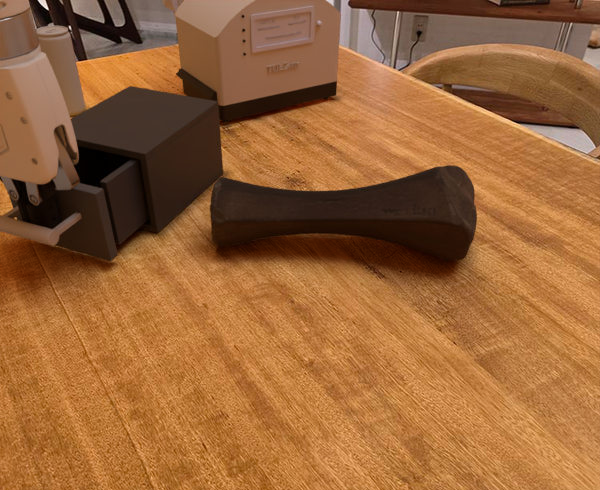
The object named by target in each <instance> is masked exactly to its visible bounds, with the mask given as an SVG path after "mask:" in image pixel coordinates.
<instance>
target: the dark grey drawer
mask: <svg viewBox="0 0 600 490" xmlns="http://www.w3.org/2000/svg"><path fill="white" fill-rule="evenodd" d="M77 147H78V154H79V160H78V163H77V164H75V165H74V168H75V170H76V172H77V174H78V177H79V179H80V183H79V184H78V185H76V186H75V187H74V188H72V189H71V190H59V191H58V192H57V193H55V198H56V201H57V205H58V208H59V212H60V215H61V219H62V223H60V224H59V225H58V226H56V227H55V228H53V229H50V228H46V227H42V226H39V225H35V224H31V223H28V222H24V221H23V220H22V217H21V214H20V211H19V208H18V205H17V202H18V200H13V199H12V198H11V197H10V196H9V195H8V197H9V200H10V203H11V206H12V209H10V210H8V211H7V212H5V213H4V214H3V215H2V214H0V232H1V233H4V234H8V235H11V236H15V237H18V238H21V239H22V238H23V239H26V240H29V241H33V242H38V243H41V244H43V245H48V246H50V247H52V246H54V247H58V248H62V249H65V250H68V251H71V252H75V253H78V254H82V255H85V256H91V257H94V258H97V259H100V260H105V261H107V262H112V261H113V260H115V259H116V258H117V257H118V256H119V254H118V250H117V245H119V246H120V245H121V244H122V243H123V242H125V241H126V240H128V238H129V237H130V236H131V235H133V234H134V233H135V232H136V231H137V230H138V229H139V227H141V226H142V225H143V224H144V223H145V222H146V221H148V220H149V219H150V216H149V210H148V205H147V199H146V193H145V187H144V181H143V175H142V169H141V163H140V159H136V158H131V157H127V156H122V155H117V154H113V153H108V152H104V151H99V150H94V149H90V148H85V147H81V146H77Z"/></svg>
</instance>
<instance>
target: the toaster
mask: <svg viewBox="0 0 600 490" xmlns="http://www.w3.org/2000/svg"><path fill="white" fill-rule="evenodd" d="M161 3H162V4H163V6H164V7H165V8H167V9H168V10H169V11H170V10H171V11H173V15H174V18H175V19H174V20H175V27H176V28H175V29H176V36H177V45H178V55H179V56H178V57H179V64H180V65H179V66H180V68H178V71H177V72H176V73H175V75H176V76H177V77H178V78H179V79H180V80H181V81H182V92H183V95H185V96H190V97H195V98H201V99H207V100H212V101H218V108H219V121H221V122H222V123H225V124H226V123H227V124H228V123H230V122H231V121H232V120H237V119H241V118H245V117H249V116H253V115H257V114H262V113H267V112H271V111H275V110H279V109H283V108H289V107H293V106H296V105H302V104H305V103H310V102H314V101H318V100H326V101H327V100H330V98H331V97H336V96H337V89H338V72H339V71H338V69H339V56H340V55H339V54H340V37H341V22H342V21H341V19H342V14H341V12H340V11H339V10H338V9H337V8H336V7H335V6H334V4H332V3H331V2H329V1H328V0H161Z"/></svg>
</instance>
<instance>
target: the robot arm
mask: <svg viewBox="0 0 600 490" xmlns="http://www.w3.org/2000/svg"><path fill="white" fill-rule="evenodd" d="M30 5H31V4H30V1H29V0H0V182H2V184H3V185H4V188H5V191H6V192H7V195H8V197H9V196H10V197H11V198H12V199H13V200H18V202H17V205H18V208H19V211H20V214H21V217H22V220H23V221H24V222H28V223H31V224H35V225H39V226H42V227H46V228H50V229H53V228H55V227H56V226H58V225H59V224H60V223H62V219H61V215H60V212H59V208H58V205H57V201H56V198H55V193H57V192H58V191H59V190H71V189H72V188H74V187H75V186H76V185H78V184H79V183H80V179H79V177H78V174H77V172H76V170H75V168H74V165H75V164H77V163H78V160H79V154H78V147H77V142H76V137H75V133H74V130H73V126H72V122H71V116H69V112H68V109H67V106H66V103H65V100H64V97H63V94H62V92H61V89H60V86H59V83H58V81H57V78H56V76H55V74H54V71H53V69H52V66H51V64H50V62H49V60H48V58H47V56H46V54H45V53H43V52H41V47H40V44H39V39H38V35H37V31H36V29H37V28H36V24H35V20H34V17H33V12H32V8H31V6H30ZM10 197H9V198H10Z"/></svg>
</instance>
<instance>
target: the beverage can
mask: <svg viewBox="0 0 600 490" xmlns="http://www.w3.org/2000/svg"><path fill="white" fill-rule="evenodd" d="M36 31H37V35H38V39H39V44H40V47H41V52H43V53H45V54H46V56H47V58H48V60H49V62H50V64H51V66H52V69H53V71H54V74H55V76H56V78H57V81H58V83H59V86H60V89H61V92H62V94H63V97H64V100H65V103H66V106H67V109H68V112H69V116H70V117H75V116H77V115H78V114H80V113H82V112H84V111H86V102H85V96H84V92H83V87H82V83H81V79H80V74H79V70H78V69H79V68H78V65H77V60H76V54H75V49H74V46H73V39H72V36H71V33H70V32H69V28H68V27H67V26H63V25H46V26H41V27H38V28H36Z"/></svg>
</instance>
